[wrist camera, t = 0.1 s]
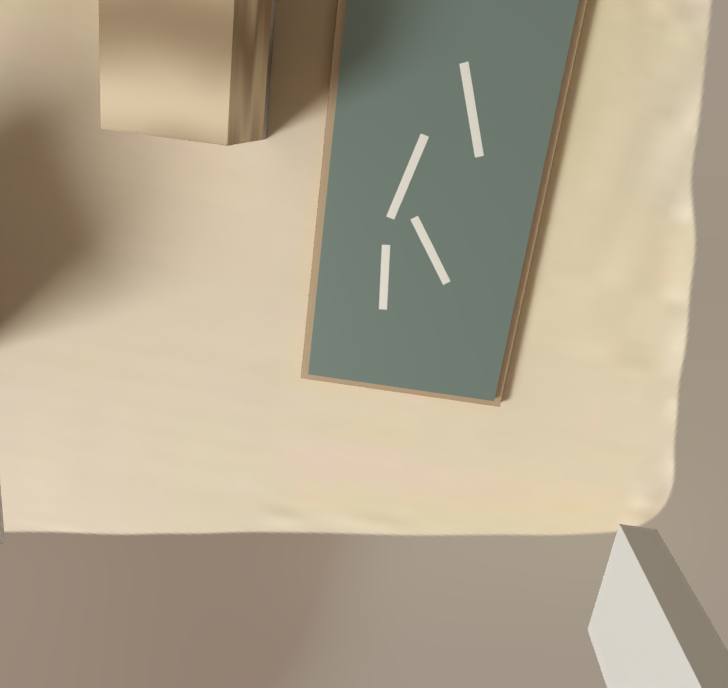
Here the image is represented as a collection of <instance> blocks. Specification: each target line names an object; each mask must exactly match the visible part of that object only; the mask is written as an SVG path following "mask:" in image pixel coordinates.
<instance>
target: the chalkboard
mask: <svg viewBox="0 0 728 688" xmlns="http://www.w3.org/2000/svg"><path fill="white" fill-rule="evenodd" d="M586 4H587V0H338V7H337V17H336V27H335V37H334V47H333V57H332V67H331V77H330V88H329V98H328V108H327V118H326V128H325V138H324V148H323V158H322V169H321V179H320V189H319V199H318V209H317V219H316V229H315V239H314V250H313V260H312V270H311V280H310V290H309V300H308V310H307V320H306V331H305V341H304V351H303V361H302V371H301V378H304V379H311V380H318V381H325V382H331V383H338V384H345V385H352V386H359V387H366V388H373V389H380V390H387V391H394V392H401V393H408V394H415V395H422V396H429V397H435V398H442V399H449V400H456V401H463V402H470V403H477V404H484V405H491V406H498V407H500V403H501V398H502V393H503V389H504V384H505V379H506V375H507V370H508V366H509V361H510V356H511V352H512V347H513V342H514V338H515V333H516V328H517V324H518V319H519V315H520V310H521V305H522V301H523V296H524V291H525V287H526V282H527V277H528V273H529V268H530V264H531V259H532V254H533V250H534V245H535V240H536V236H537V231H538V226H539V222H540V217H541V213H542V208H543V203H544V199H545V194H546V189H547V185H548V180H549V175H550V171H551V166H552V162H553V157H554V152H555V148H556V143H557V138H558V134H559V129H560V124H561V120H562V115H563V111H564V106H565V101H566V97H567V92H568V87H569V83H570V78H571V73H572V69H573V64H574V60H575V55H576V50H577V46H578V41H579V36H580V32H581V27H582V22H583V18H584V13H585V9H586Z"/></svg>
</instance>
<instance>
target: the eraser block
mask: <svg viewBox="0 0 728 688" xmlns="http://www.w3.org/2000/svg"><path fill="white" fill-rule="evenodd" d="M275 3H276V0H99V45H100V119H101V129H107V130H115V131H122V132H130V133H137V134H144V135H152V136H159V137H167V138H174V139H182V140H189V141H196V142H204V143H211V144H219V145H226V146H228V145H234V144H240V143H246V142H251V141H257V140H263V139H266V133H267V118H268V104H269V89H270V75H271V61H272V46H273V32H274V18H275Z"/></svg>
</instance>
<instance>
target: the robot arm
mask: <svg viewBox="0 0 728 688" xmlns="http://www.w3.org/2000/svg"><path fill="white" fill-rule="evenodd" d="M4 541H5V539H4V525H3V513H2V500H1V487H0V546H1V544H2V543H3V542H4ZM588 632H589V635H590V638H591V641H592V644H593V647H594V650H595V652H596V656H597V659H598V662H599V665H600V668H601V671H602V674H603V677H604V680H605V683H606V686H607V688H728V650H727V648H726V647H725V645H724V643H723V642H722V640H721V638H720V637H719V635H718V633H717V631H716V630H715V628H714V626H713V625H712V623H711V621H710V619H709V618H708V616H707V614H706V612H705V611H704V609H703V607H702V606H701V604H700V602H699V601H698V599H697V597H696V595H695V594H694V592H693V590H692V589H691V587H690V585H689V584H688V582H687V580H686V578H685V577H684V575H683V573H682V571H681V570H680V568H679V566H678V565H677V563H676V561H675V559H674V558H673V556H672V554H671V553H670V551H669V549H668V547H667V546H666V544H665V542H664V541H663V539H662V537H661V536H660V534H659V532H658V530H655V529H649V528H642V527H636V526H629V525H622V524H620V525H619V528H618V531H617V535H616V538H615V541H614V545H613V548H612V551H611V554H610V558H609V561H608V565H607V568H606V571H605V574H604V578H603V581H602V584H601V587H600V591H599V594H598V597H597V601H596V604H595V607H594V610H593V614H592V617H591V621H590V624H589V627H588Z"/></svg>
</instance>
